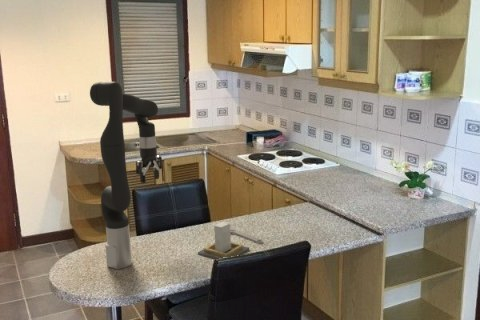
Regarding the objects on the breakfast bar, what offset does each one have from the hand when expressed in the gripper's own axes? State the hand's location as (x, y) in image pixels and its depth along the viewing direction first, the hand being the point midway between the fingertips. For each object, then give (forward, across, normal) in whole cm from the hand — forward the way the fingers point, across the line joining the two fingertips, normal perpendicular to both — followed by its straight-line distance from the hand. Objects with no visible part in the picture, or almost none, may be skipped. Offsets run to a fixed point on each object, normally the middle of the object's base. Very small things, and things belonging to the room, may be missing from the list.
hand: (150, 180), depth 236 cm
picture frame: (+28, +5, -37) cm, 47 cm away
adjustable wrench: (+29, +24, -33) cm, 50 cm away
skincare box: (+27, +4, -37) cm, 46 cm away
